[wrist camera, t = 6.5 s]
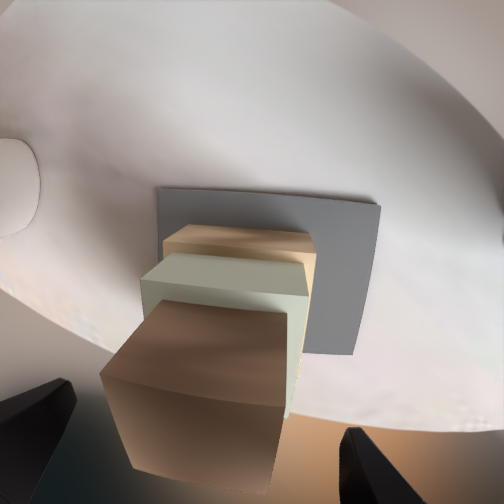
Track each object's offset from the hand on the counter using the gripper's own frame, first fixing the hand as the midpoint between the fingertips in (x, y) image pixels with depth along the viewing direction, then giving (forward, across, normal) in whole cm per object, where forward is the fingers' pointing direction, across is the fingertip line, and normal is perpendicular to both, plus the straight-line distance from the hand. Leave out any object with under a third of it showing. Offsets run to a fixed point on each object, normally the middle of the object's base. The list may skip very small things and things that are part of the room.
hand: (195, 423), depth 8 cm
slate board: (+12, -1, 0) cm, 12 cm away
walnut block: (+3, 0, 0) cm, 3 cm away
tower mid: (+7, 0, 0) cm, 7 cm away
